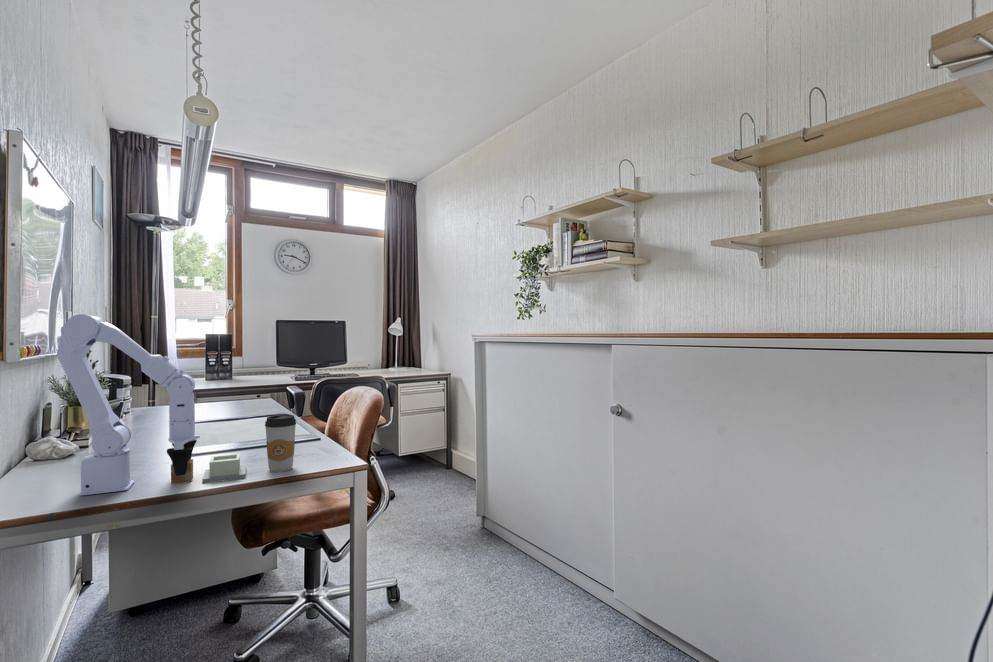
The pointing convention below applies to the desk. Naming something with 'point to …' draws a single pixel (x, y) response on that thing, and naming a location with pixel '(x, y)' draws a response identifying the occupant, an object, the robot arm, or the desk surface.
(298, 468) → the desk surface
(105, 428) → the robot arm
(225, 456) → the socket base
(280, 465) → the coffee cup
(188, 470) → the walnut block
